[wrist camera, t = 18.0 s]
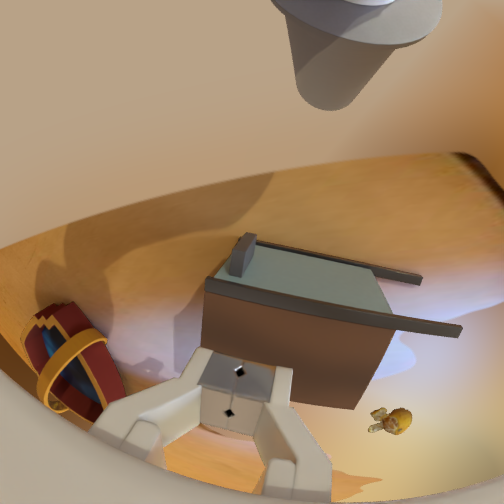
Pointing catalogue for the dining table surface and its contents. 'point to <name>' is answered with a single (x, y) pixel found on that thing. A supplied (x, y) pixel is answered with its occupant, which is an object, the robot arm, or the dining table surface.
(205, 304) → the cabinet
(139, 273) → the dining table surface
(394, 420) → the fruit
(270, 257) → the grey sliding lid
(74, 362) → the decorative basket
